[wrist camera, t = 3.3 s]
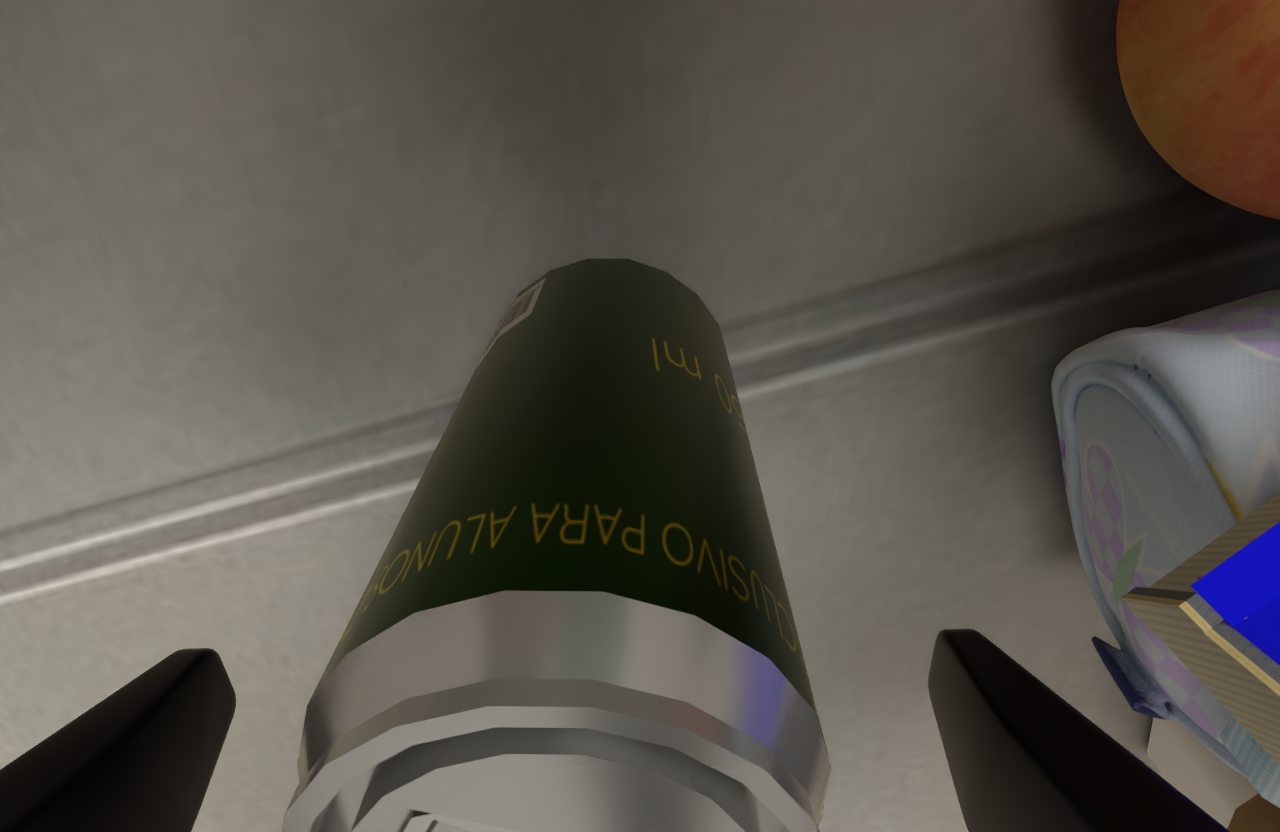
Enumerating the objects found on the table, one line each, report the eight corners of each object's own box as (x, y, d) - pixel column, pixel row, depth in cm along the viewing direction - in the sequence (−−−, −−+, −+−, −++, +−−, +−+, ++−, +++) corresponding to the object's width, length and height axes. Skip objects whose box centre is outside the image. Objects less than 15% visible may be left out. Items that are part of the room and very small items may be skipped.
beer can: (462, 404, 18) (190, 960, 7) (553, 203, 16) (353, 580, 5) (657, 490, 19) (673, 1080, 8) (769, 315, 17) (987, 817, 6)
